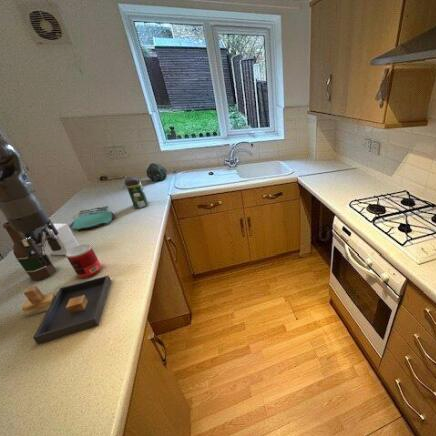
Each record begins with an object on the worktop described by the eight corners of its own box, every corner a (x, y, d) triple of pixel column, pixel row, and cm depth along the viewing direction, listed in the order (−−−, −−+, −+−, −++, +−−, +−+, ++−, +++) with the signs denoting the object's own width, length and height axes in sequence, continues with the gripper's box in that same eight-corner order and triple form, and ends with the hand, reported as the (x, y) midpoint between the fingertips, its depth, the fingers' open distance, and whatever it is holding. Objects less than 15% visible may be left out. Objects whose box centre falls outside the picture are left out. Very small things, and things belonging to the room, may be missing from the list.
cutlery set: (69, 235, 122) (67, 231, 121) (76, 213, 145) (75, 210, 144) (115, 224, 132) (113, 220, 130) (115, 205, 154) (114, 202, 153)
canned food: (104, 263, 101) (93, 242, 96) (98, 275, 94) (86, 253, 89) (83, 268, 99) (70, 246, 93) (75, 281, 92) (61, 258, 87)
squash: (167, 168, 205) (150, 158, 194) (172, 173, 195) (155, 162, 184) (157, 182, 204) (139, 172, 192) (162, 187, 194) (144, 177, 183)
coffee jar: (134, 204, 155) (124, 176, 146) (148, 201, 158) (138, 174, 149) (133, 209, 147) (122, 181, 138) (148, 206, 150) (138, 178, 142)
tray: (38, 344, 69) (32, 338, 68) (64, 294, 86) (60, 287, 85) (98, 325, 74) (94, 318, 73) (111, 281, 92) (108, 275, 90)
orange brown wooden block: (69, 314, 78) (65, 307, 76) (73, 305, 81) (69, 298, 79) (84, 309, 79) (80, 303, 78) (88, 301, 82) (84, 294, 81)
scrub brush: (27, 315, 78) (12, 297, 74) (33, 307, 81) (18, 288, 77) (54, 308, 81) (41, 289, 77) (58, 300, 84) (46, 281, 80)
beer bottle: (35, 271, 98) (-1, 220, 86) (59, 265, 101) (27, 215, 89) (27, 283, 92) (-13, 230, 80) (53, 276, 95) (18, 224, 83)
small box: (81, 247, 112) (67, 223, 106) (68, 255, 107) (54, 231, 101) (65, 246, 113) (51, 223, 107) (52, 255, 108) (36, 230, 101)
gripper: (18, 204, 72) (46, 248, 79) (-10, 225, 60) (26, 274, 68) (50, 199, 74) (74, 242, 82) (29, 219, 63) (59, 267, 71)
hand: (52, 257), depth 75 cm, fingers open, 8 cm apart
